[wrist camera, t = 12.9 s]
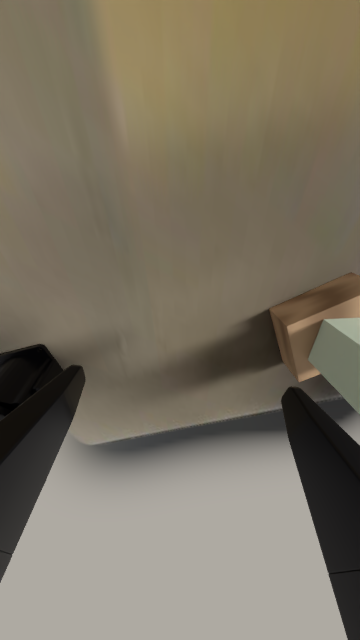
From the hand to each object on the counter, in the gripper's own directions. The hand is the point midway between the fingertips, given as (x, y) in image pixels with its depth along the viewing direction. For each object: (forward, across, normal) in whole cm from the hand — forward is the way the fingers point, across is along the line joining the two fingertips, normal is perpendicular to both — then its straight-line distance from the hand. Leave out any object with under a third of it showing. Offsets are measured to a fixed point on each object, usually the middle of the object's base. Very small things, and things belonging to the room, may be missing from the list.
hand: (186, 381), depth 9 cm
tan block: (+15, -16, +6) cm, 22 cm away
